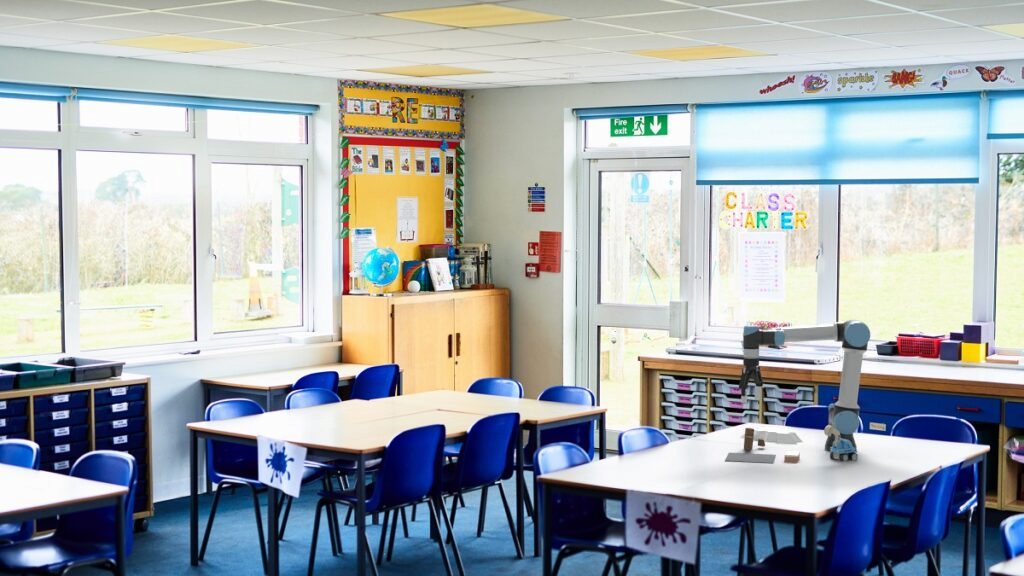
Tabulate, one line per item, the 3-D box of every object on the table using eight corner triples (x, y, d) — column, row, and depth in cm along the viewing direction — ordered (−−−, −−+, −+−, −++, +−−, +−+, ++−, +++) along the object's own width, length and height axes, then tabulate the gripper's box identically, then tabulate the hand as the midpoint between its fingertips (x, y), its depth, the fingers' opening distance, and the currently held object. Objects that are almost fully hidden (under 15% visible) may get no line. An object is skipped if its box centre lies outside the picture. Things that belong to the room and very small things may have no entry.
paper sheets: (814, 442, 627) (814, 431, 627) (795, 447, 612) (795, 436, 612) (754, 434, 650) (754, 424, 650) (734, 439, 636) (734, 428, 635)
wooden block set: (753, 454, 589) (755, 433, 588) (736, 451, 593) (738, 430, 593) (765, 449, 605) (767, 428, 604) (748, 446, 609) (750, 426, 608)
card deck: (799, 460, 574) (799, 451, 574) (797, 464, 565) (797, 455, 565) (786, 459, 576) (786, 451, 576) (784, 463, 567) (784, 454, 566)
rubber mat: (775, 456, 583) (775, 454, 583) (773, 464, 562) (773, 462, 562) (728, 454, 589) (728, 452, 589) (724, 462, 567) (724, 460, 567)
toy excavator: (818, 460, 572) (819, 424, 571) (846, 458, 579) (846, 422, 579) (831, 464, 564) (831, 426, 563) (858, 461, 572) (859, 424, 571)
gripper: (756, 355, 602) (756, 398, 603) (731, 359, 583) (731, 403, 584) (770, 356, 597) (770, 399, 598) (745, 360, 578) (745, 404, 579)
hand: (751, 401), depth 591 cm, fingers open, 13 cm apart
